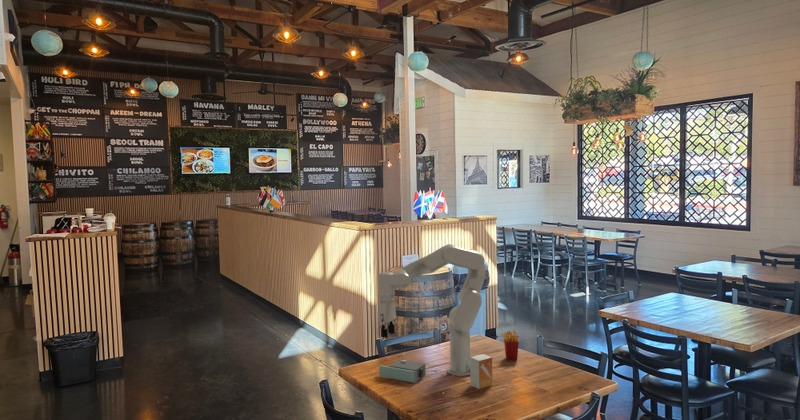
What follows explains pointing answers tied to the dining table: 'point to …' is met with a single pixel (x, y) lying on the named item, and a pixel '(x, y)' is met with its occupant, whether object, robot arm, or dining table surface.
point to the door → (397, 373)
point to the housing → (411, 367)
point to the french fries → (511, 346)
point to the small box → (481, 371)
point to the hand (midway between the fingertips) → (387, 334)
